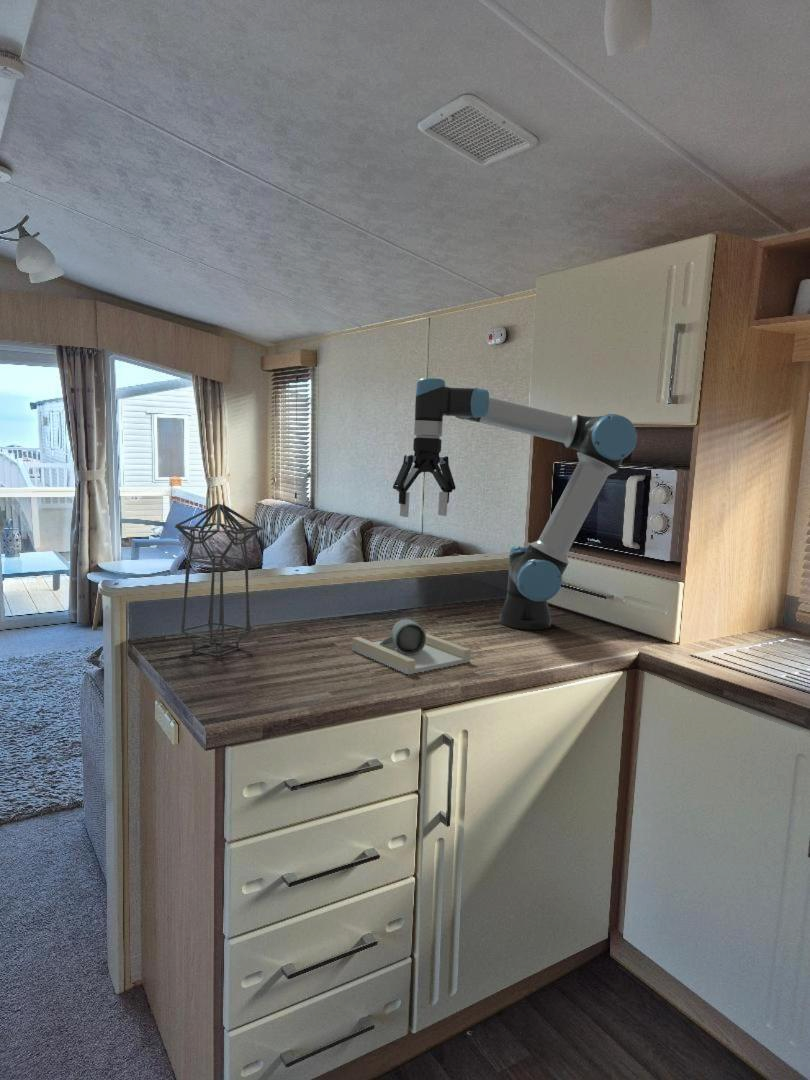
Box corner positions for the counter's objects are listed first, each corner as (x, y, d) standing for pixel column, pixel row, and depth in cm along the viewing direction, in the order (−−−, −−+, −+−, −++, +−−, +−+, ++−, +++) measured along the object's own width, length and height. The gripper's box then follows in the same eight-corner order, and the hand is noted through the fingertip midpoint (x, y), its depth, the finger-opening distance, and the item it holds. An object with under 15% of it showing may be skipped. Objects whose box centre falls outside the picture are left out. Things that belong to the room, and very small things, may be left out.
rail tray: (411, 640, 189) (412, 628, 188) (469, 662, 172) (470, 649, 171) (352, 650, 177) (352, 637, 176) (407, 675, 160) (408, 661, 159)
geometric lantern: (167, 651, 169) (169, 502, 165) (214, 638, 183) (217, 501, 179) (219, 663, 162) (222, 507, 158) (263, 648, 175) (267, 505, 172)
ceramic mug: (418, 645, 179) (419, 615, 178) (426, 655, 172) (427, 623, 171) (376, 646, 177) (377, 616, 176) (382, 656, 169) (383, 624, 168)
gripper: (452, 439, 204) (448, 513, 207) (382, 434, 188) (378, 515, 191) (471, 439, 198) (466, 516, 201) (399, 435, 183) (395, 518, 185)
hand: (423, 516), depth 196 cm, fingers open, 13 cm apart
